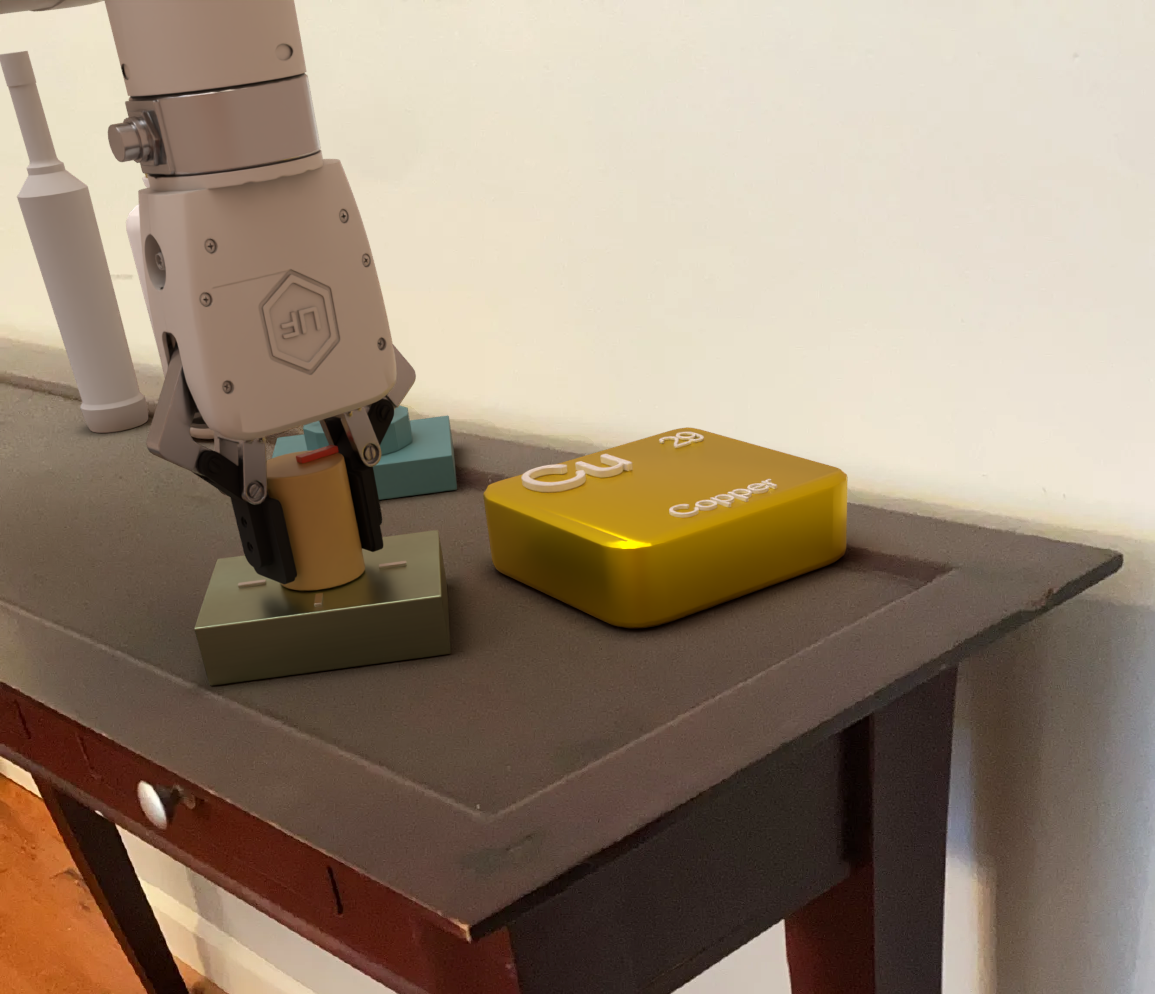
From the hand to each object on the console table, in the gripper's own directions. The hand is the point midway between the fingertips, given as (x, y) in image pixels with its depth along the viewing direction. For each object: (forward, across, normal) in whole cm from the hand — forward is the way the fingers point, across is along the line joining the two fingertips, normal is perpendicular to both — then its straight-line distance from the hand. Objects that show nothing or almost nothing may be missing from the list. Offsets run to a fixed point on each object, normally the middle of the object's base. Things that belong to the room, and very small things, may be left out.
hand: (319, 557), depth 71 cm
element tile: (+4, +17, -7) cm, 19 cm away
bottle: (+4, +14, +54) cm, 56 cm away
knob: (+1, 0, 0) cm, 1 cm away
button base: (+4, +17, +21) cm, 27 cm away
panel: (+4, 0, 0) cm, 4 cm away
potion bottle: (+4, +19, +43) cm, 47 cm away
